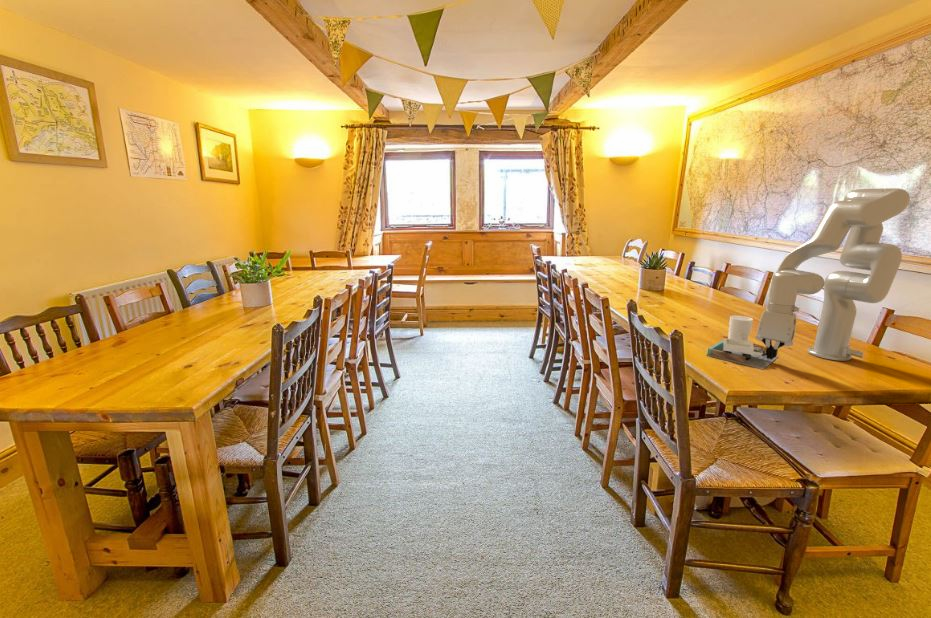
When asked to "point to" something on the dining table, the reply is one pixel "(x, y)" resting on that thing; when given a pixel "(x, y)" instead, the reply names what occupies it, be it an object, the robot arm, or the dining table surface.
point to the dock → (740, 357)
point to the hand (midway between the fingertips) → (770, 358)
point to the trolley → (741, 348)
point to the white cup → (739, 327)
